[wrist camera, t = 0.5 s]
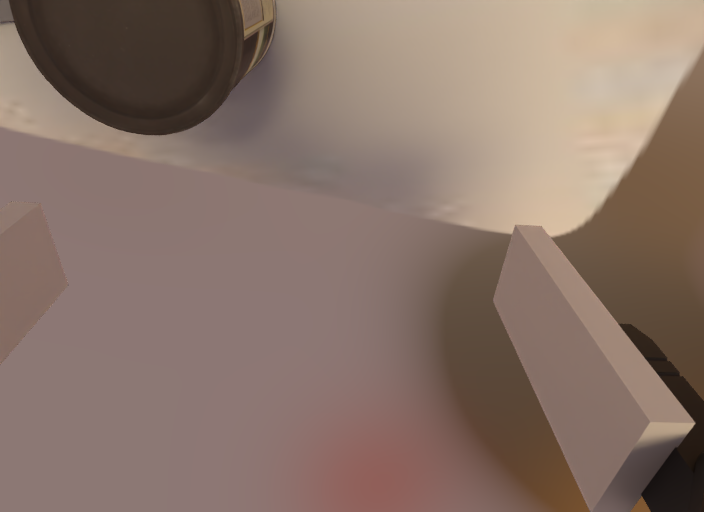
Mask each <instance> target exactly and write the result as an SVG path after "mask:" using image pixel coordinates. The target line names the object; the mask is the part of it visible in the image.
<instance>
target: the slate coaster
mask: <svg viewBox="0 0 704 512" xmlns="http://www.w3.org/2000/svg"><path fill="white" fill-rule="evenodd" d="M5 21H14V19H13V16H12V12H11V8H10V4H9V0H0V22H5Z"/></svg>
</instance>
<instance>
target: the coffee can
mask: <svg viewBox="0 0 704 512" xmlns="http://www.w3.org/2000/svg"><path fill="white" fill-rule="evenodd" d="M9 4H10V8H11V12H12V16H13V19H14V22H15V25H16V28H17V31H18V33H19V35H20V38H21V40H22V42H23V44H24V46H25V48H26V50H27V52H28V54H29V56H30V57H31V59H32V60H33V62H34V63H35V65H36V67H37V68H38V69H39V71H40V72H41V73H42V75H44V77H45V78H46V80H47V81H49V82H50V84H51V85H52V86H53V87H54V88H55V89H56V90H57V91H58V92H59V93H60V94H61V95H62V96H63V97H64V98H66V99H67V100H68V101H69V102H70V103H72V104H73V105H74V106H75V107H77V108H78V109H80V110H81V111H82V112H84V113H85V114H87V115H88V116H90V117H92V118H93V119H95V120H97V121H99V122H101V123H103V124H105V125H108V126H110V127H113V128H116V129H119V130H123V131H126V132H130V133H136V134H143V135H167V134H172V133H177V132H181V131H184V130H187V129H189V128H192V127H194V126H195V125H197V124H199V123H201V122H203V121H204V120H205V119H207V118H208V117H210V116H211V115H212V114H213V113H214V112H215V111H216V110H217V109H218V108H219V107H220V106H221V105H222V103H223V102H224V101H225V100H226V98H227V97H228V95H229V94H230V92H231V90H232V89H233V88H234V87H235V86H236V85H237V84H238V83H239V81H240V80H241V79H242V78H243V77H244V76H245V75H246V74H247V73H248V72H249V71H251V70H252V69H253V68H254V67H255V66H256V65H257V64H258V63H259V62H260V61H261V60H262V58H263V57H264V55H265V54H266V52H267V50H268V48H269V46H270V43H271V41H272V38H273V34H274V29H275V22H276V7H275V0H9Z"/></svg>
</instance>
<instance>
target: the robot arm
mask: <svg viewBox="0 0 704 512" xmlns="http://www.w3.org/2000/svg"><path fill="white" fill-rule="evenodd" d="M67 286H68V282H67V279H66V276H65V273H64V270H63V267H62V264H61V262H60V259H59V256H58V253H57V250H56V247H55V244H54V241H53V238H52V235H51V232H50V229H49V226H48V223H47V221H46V218H45V215H44V212H43V209H42V206H41V203H29V202H10V203H9V204H7V205H6V206H4V207H3V208H1V209H0V365H1V364H2V362H3V361H4V360H5V359H6V358H7V357H8V355H9V354H10V353H11V352H12V351H13V350H14V348H15V347H16V346H17V345H18V344H19V342H20V341H21V340H22V339H23V338H24V337H25V335H26V334H27V333H28V332H29V331H30V330H31V329H32V327H33V326H34V325H35V324H36V323H37V321H38V320H39V319H40V318H41V317H42V316H43V314H44V313H45V312H46V311H47V310H48V309H49V307H50V306H51V305H52V304H53V303H54V302H55V300H56V299H57V298H58V297H59V296H60V295H61V293H62V292H63V291H64V290H65V289H66V287H67ZM493 302H494V304H495V306H496V308H497V311H498V313H499V315H500V317H501V319H502V322H503V324H504V326H505V328H506V330H507V332H508V335H509V336H510V339H511V341H512V343H513V345H514V347H515V350H516V352H517V354H518V356H519V358H520V360H521V363H522V365H523V367H524V369H525V371H526V374H527V376H528V378H529V380H530V382H531V384H532V386H533V389H534V391H535V393H536V395H537V397H538V400H539V402H540V404H541V406H542V408H543V410H544V413H545V415H546V417H547V419H548V421H549V423H550V426H551V428H552V430H553V432H554V434H555V437H556V439H557V441H558V443H559V445H560V447H561V450H562V452H563V454H564V456H565V458H566V460H567V462H568V465H569V467H570V469H571V471H572V473H573V475H574V478H575V480H576V482H577V484H578V486H579V489H580V490H581V493H582V495H583V497H584V499H585V502H586V504H587V506H588V508H589V510H590V512H630V511H631V510H632V508H633V507H634V506H635V504H636V503H637V501H638V500H639V499H640V498H641V496H642V497H643V499H644V500H645V502H646V504H647V505H648V507H649V509H650V511H651V512H704V401H703V400H702V399H701V397H700V396H699V395H698V394H697V393H696V391H695V390H694V389H693V388H692V387H691V386H690V384H689V383H688V382H687V381H686V379H685V378H684V377H683V376H680V375H679V371H678V370H677V369H676V368H675V367H674V365H673V364H672V363H671V362H670V361H667V357H666V356H665V355H664V353H663V352H662V351H661V350H660V349H659V347H658V346H657V345H656V344H655V343H654V342H653V340H652V339H650V338H649V337H648V336H646V335H645V334H643V333H642V332H641V331H639V330H638V329H637V328H635V327H634V326H632V325H631V324H618V323H617V322H616V321H615V319H614V318H613V317H612V316H611V314H610V313H609V312H608V311H607V309H606V308H605V307H604V306H603V304H602V303H601V302H600V300H599V299H598V298H597V296H596V295H595V294H594V293H593V291H592V290H591V289H590V288H589V286H588V285H587V284H586V282H585V281H584V280H583V279H582V277H581V276H580V275H579V274H578V272H577V271H576V270H575V268H574V267H573V266H572V265H571V263H570V262H569V261H568V259H567V258H566V257H565V256H564V254H563V253H562V252H561V250H560V249H559V248H558V247H557V245H556V244H555V243H554V242H553V240H552V239H551V238H550V236H549V235H548V234H547V233H546V231H545V230H544V229H543V228H542V226H529V225H515V228H514V231H513V234H512V238H511V241H510V245H509V248H508V251H507V255H506V258H505V262H504V265H503V269H502V272H501V275H500V278H499V282H498V285H497V289H496V292H495V296H494V299H493Z"/></svg>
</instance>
